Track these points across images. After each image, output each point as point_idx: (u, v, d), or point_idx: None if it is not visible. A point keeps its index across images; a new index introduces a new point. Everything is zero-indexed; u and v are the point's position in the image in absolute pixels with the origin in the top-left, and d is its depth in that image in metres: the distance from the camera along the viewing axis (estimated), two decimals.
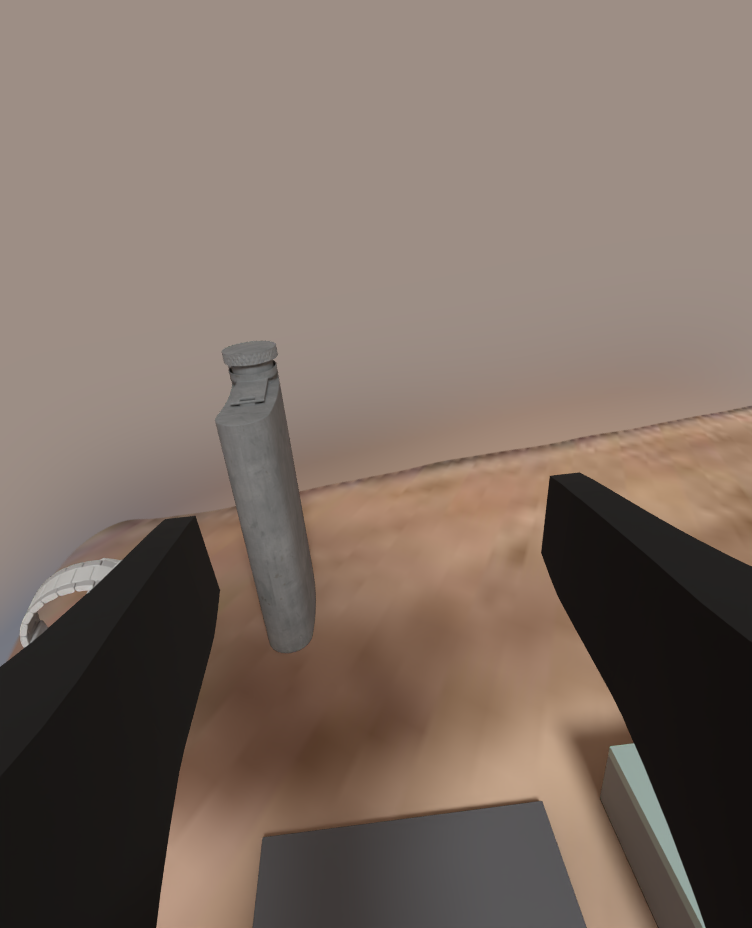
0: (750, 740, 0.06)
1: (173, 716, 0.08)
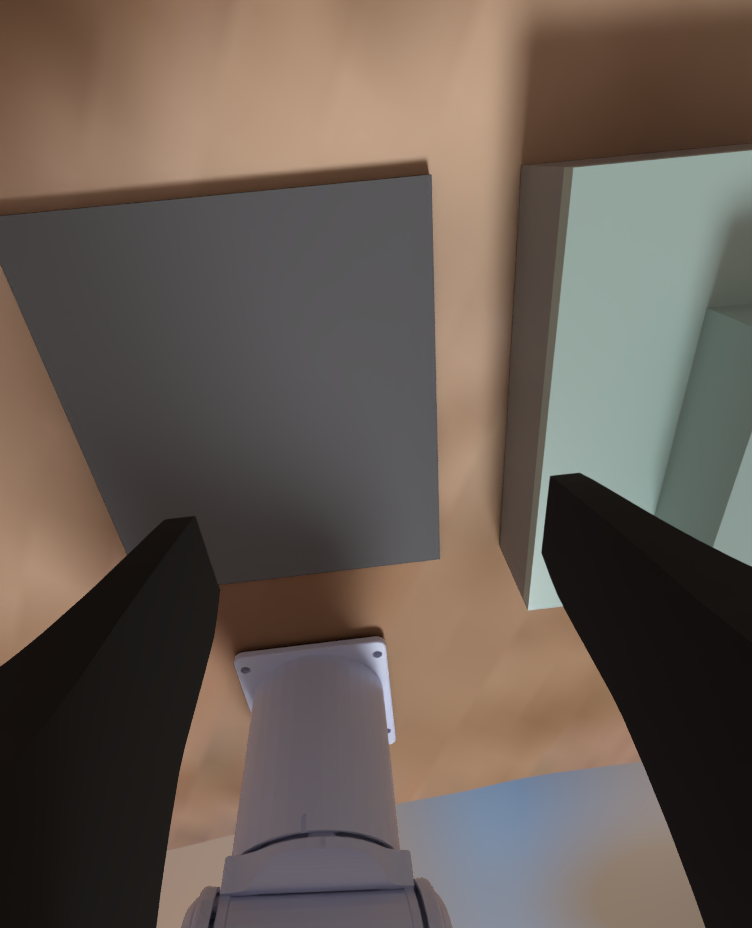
0: (750, 740, 0.06)
1: (173, 716, 0.08)
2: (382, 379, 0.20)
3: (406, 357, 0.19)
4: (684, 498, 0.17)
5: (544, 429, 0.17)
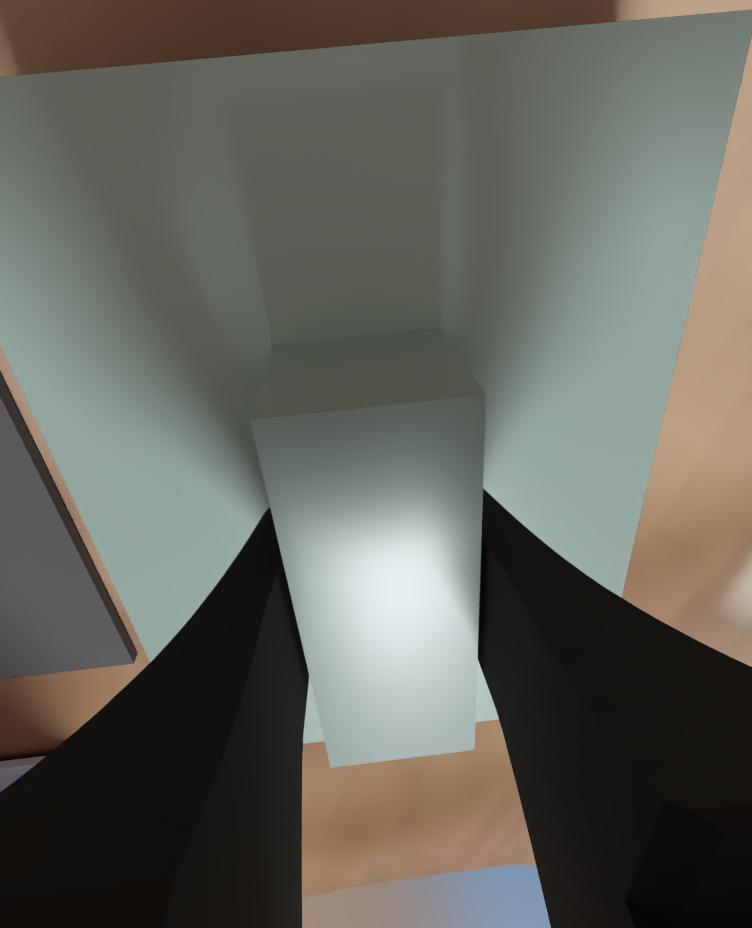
0: (568, 764, 0.06)
1: (296, 701, 0.08)
2: None
3: None
4: None
5: None
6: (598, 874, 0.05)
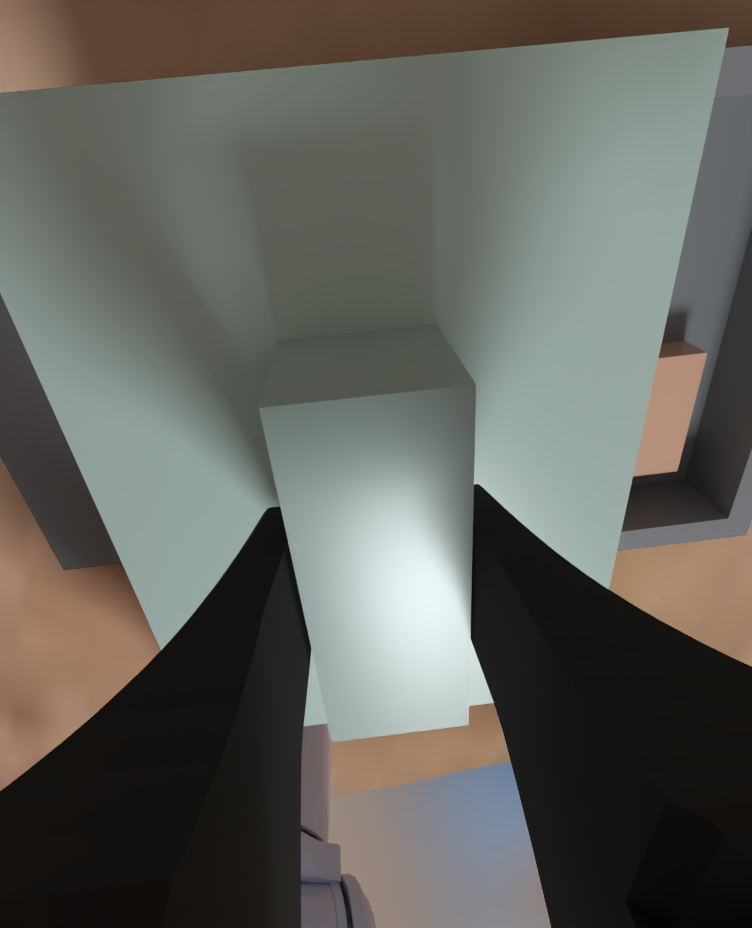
0: (568, 763, 0.06)
1: (296, 701, 0.08)
2: None
3: None
4: None
5: None
6: (598, 873, 0.05)
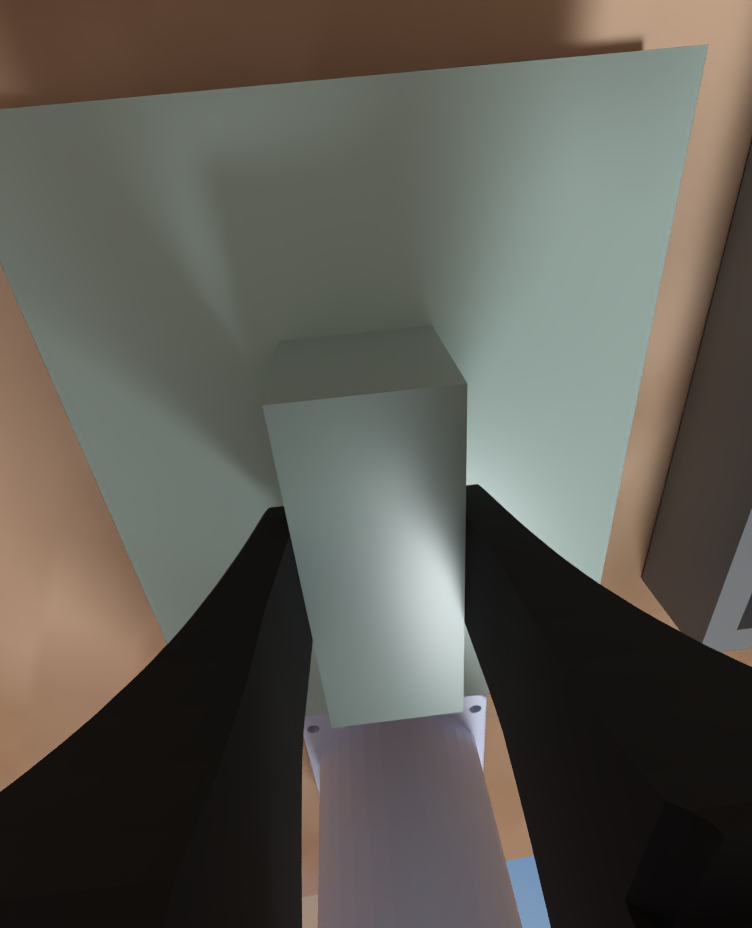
0: (567, 763, 0.06)
1: (296, 701, 0.08)
2: None
3: None
4: None
5: None
6: (598, 873, 0.05)
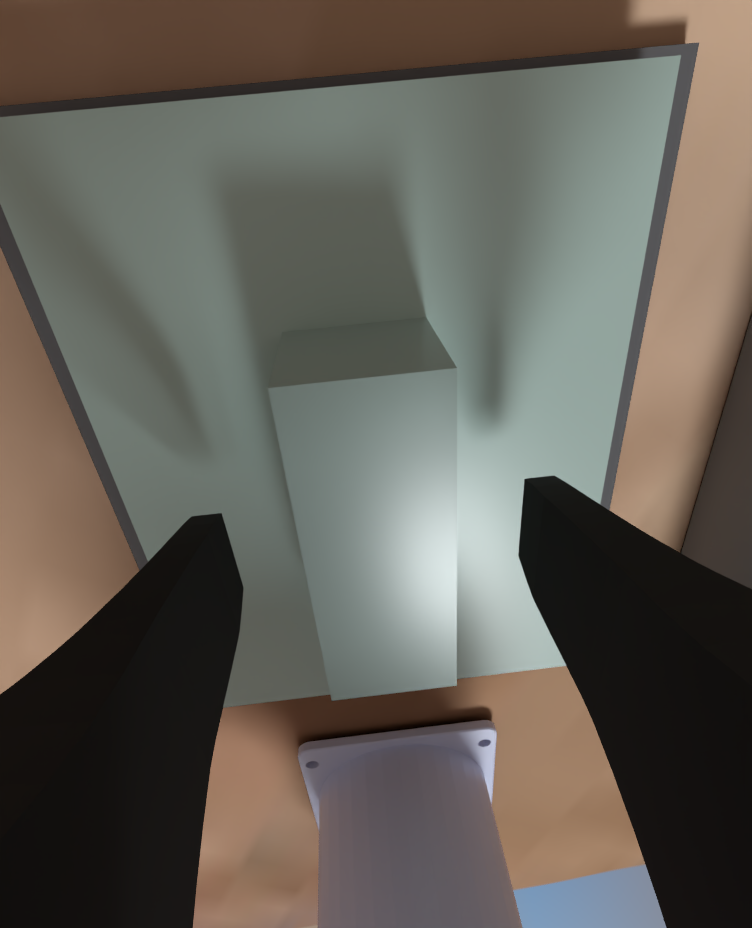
0: (705, 746, 0.06)
1: (204, 712, 0.08)
2: None
3: None
4: None
5: None
6: (751, 853, 0.05)
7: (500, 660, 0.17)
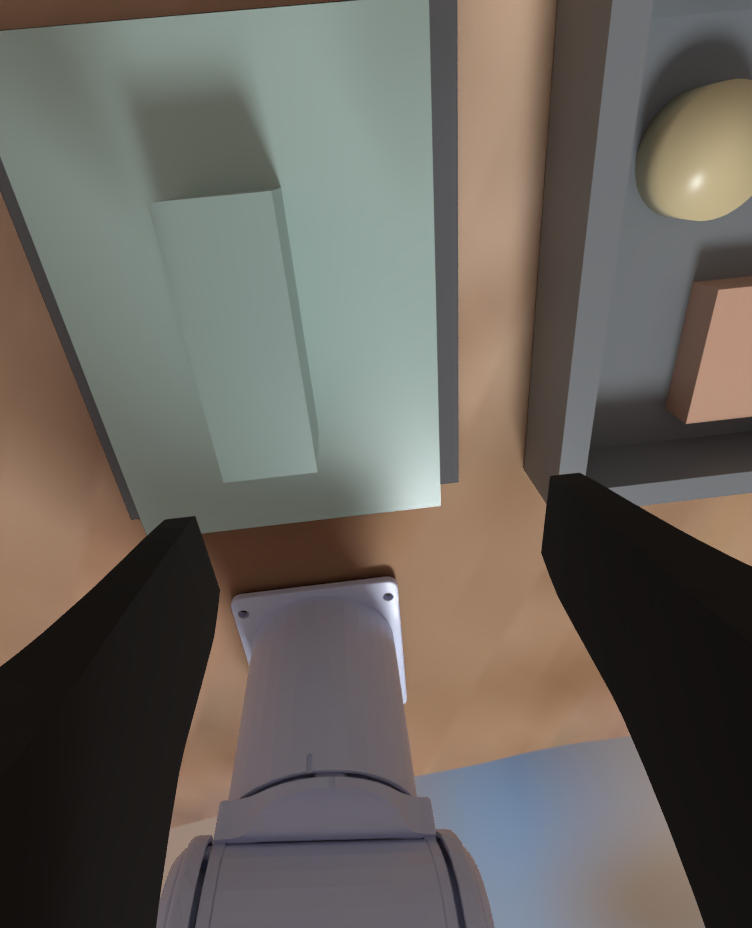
0: (750, 740, 0.06)
1: (173, 716, 0.08)
2: None
3: None
4: None
5: (71, 333, 0.17)
6: None
7: (381, 498, 0.21)
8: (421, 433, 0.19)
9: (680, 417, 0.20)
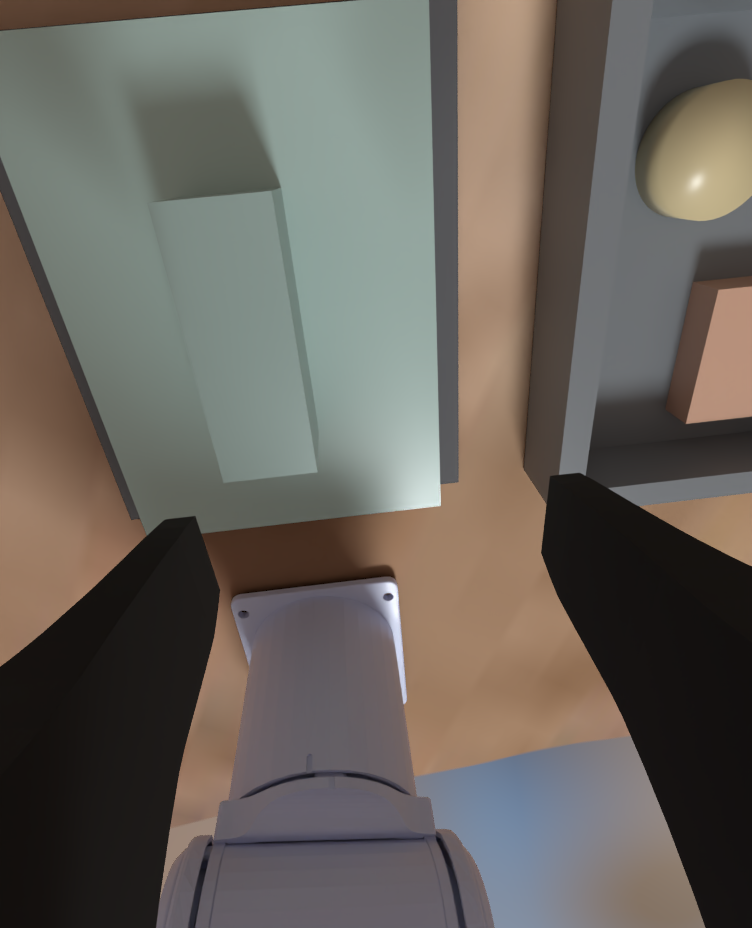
0: (750, 740, 0.06)
1: (173, 716, 0.08)
2: None
3: None
4: None
5: (71, 333, 0.17)
6: None
7: (381, 498, 0.21)
8: (421, 433, 0.19)
9: (680, 417, 0.20)
